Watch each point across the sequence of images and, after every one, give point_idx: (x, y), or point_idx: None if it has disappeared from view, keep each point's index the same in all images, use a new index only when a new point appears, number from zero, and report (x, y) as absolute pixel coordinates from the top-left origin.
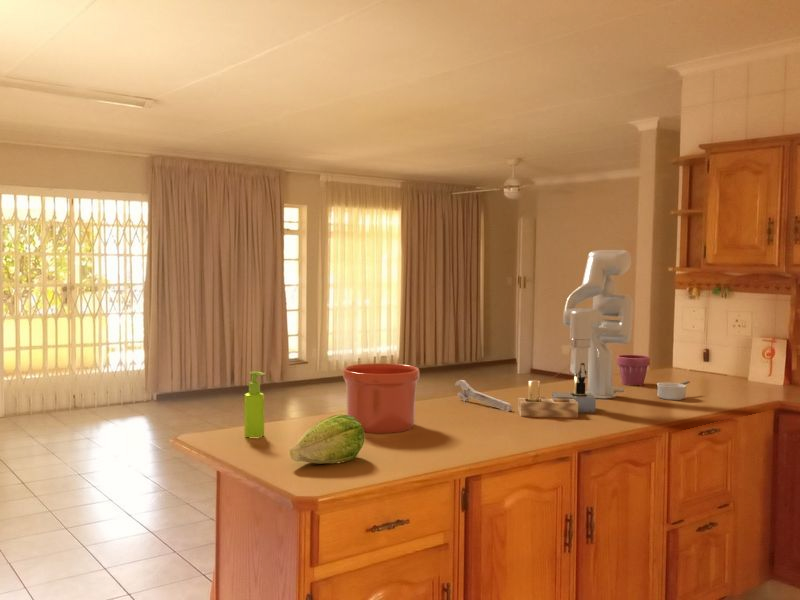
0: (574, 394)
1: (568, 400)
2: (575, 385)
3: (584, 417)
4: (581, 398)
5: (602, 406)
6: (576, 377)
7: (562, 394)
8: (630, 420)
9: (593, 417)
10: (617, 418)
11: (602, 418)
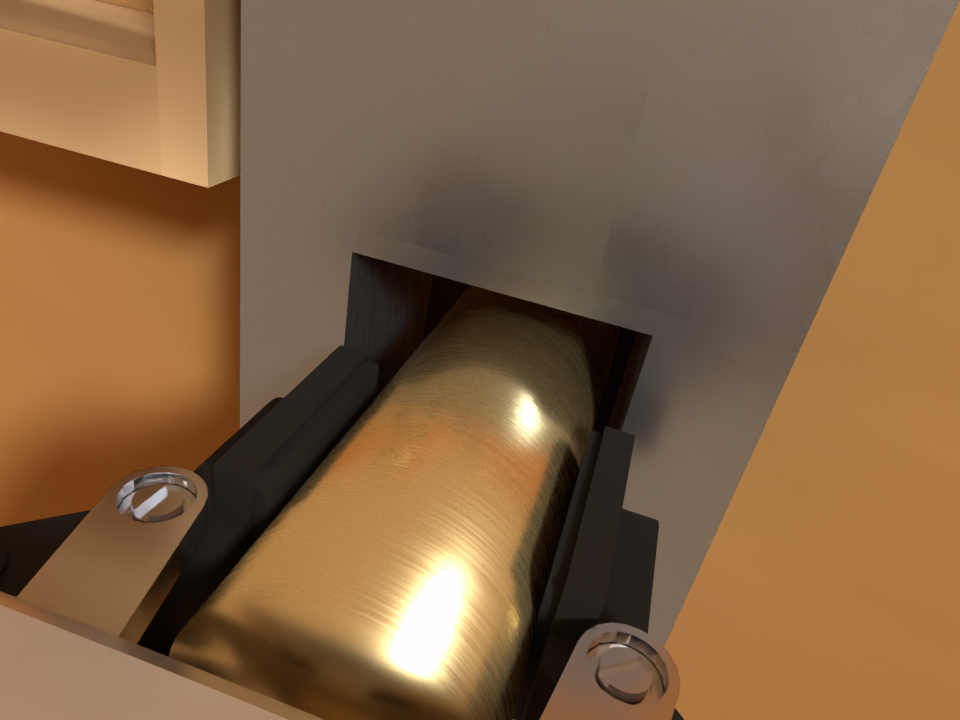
0: (467, 341)
1: (170, 57)
2: (360, 446)
3: (78, 161)
4: (252, 336)
5: (683, 660)
6: (210, 610)
7: (552, 99)
8: (46, 516)
9: (99, 267)
10: (100, 465)
11: (71, 334)
